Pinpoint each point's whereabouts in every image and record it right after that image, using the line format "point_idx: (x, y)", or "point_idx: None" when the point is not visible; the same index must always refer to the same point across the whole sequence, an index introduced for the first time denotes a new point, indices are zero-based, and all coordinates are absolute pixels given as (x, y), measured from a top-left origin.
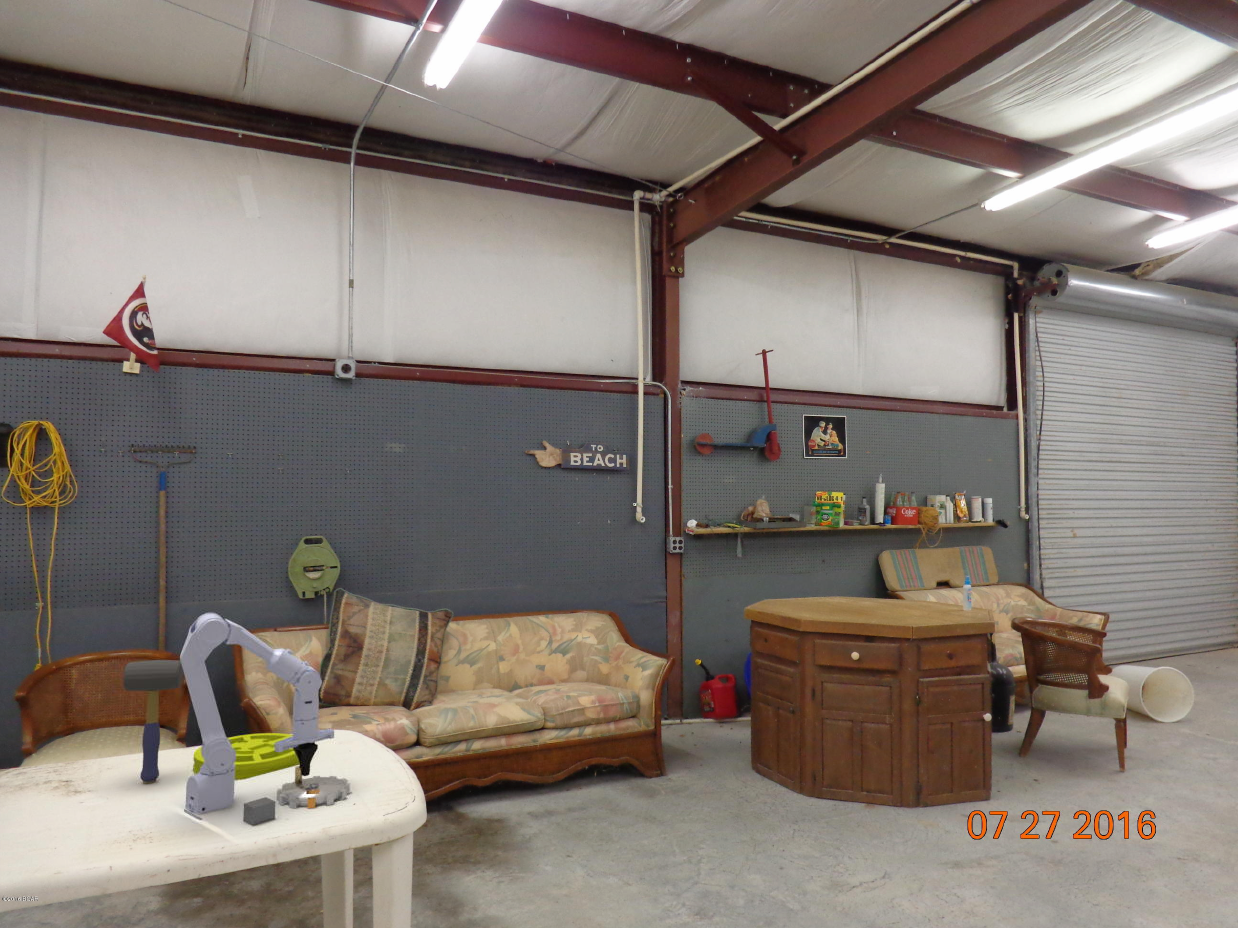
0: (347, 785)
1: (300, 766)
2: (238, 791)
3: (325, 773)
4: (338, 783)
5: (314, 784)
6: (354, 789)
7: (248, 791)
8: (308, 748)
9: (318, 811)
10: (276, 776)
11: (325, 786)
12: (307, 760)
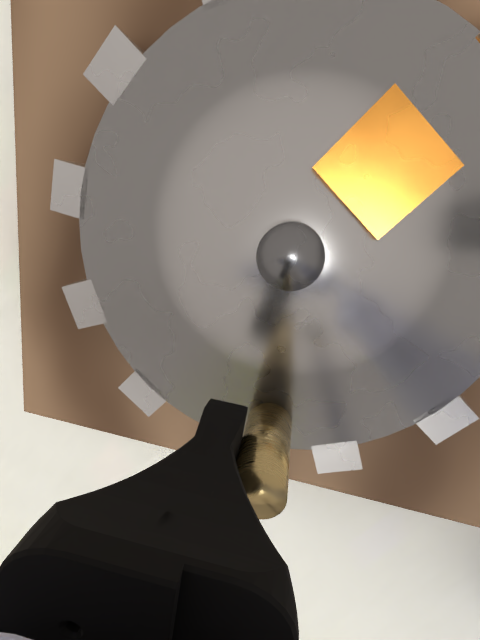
0: (127, 43)
1: None
2: (369, 631)
3: (14, 471)
4: (141, 152)
5: (288, 255)
6: None
7: (349, 600)
8: (193, 591)
9: None
10: None
11: (237, 188)
12: (220, 468)
